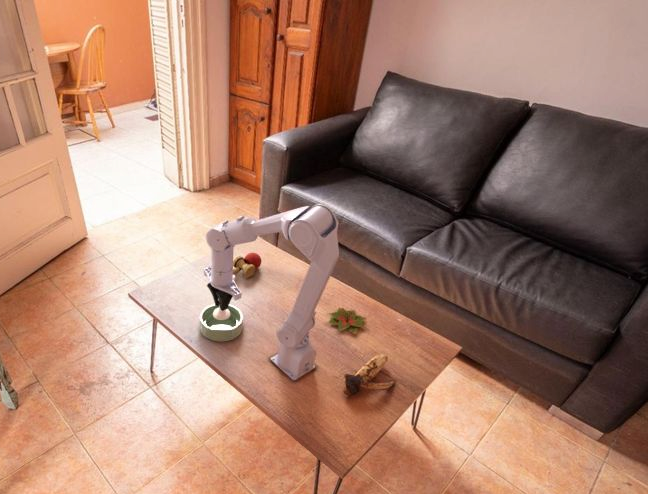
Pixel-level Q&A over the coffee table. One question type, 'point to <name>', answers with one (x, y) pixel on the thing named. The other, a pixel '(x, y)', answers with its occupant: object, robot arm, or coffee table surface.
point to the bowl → (221, 324)
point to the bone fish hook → (366, 377)
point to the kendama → (247, 264)
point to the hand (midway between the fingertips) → (221, 306)
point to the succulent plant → (347, 320)
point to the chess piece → (221, 313)
